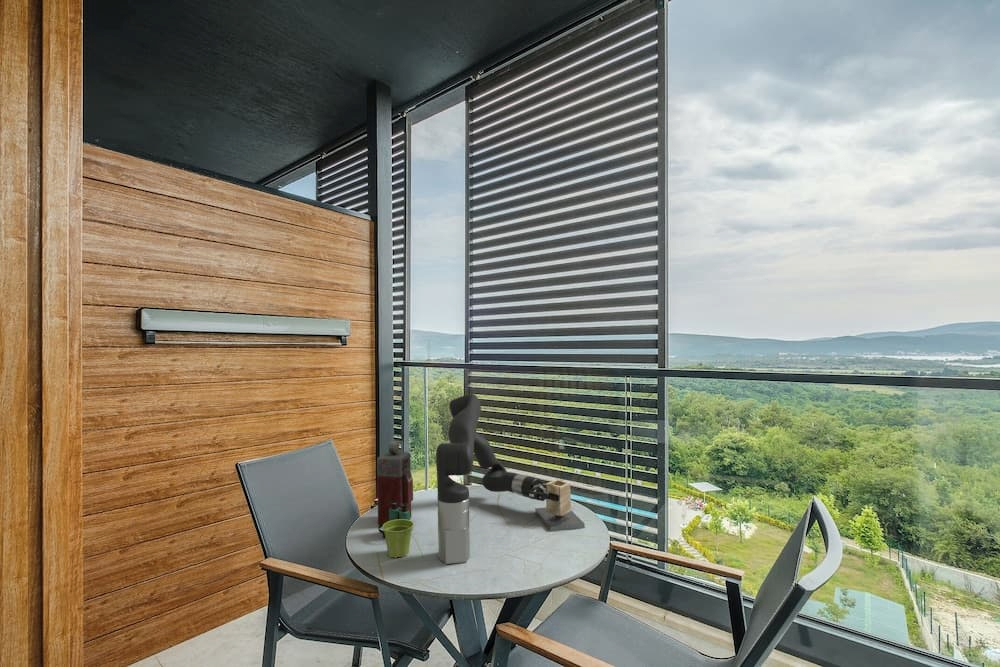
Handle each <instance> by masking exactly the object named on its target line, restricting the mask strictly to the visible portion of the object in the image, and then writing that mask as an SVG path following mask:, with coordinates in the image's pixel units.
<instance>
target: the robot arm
mask: <svg viewBox="0 0 1000 667" xmlns="http://www.w3.org/2000/svg"><path fill="white" fill-rule="evenodd" d="M448 407H449V410H450V411H449V412H450V414H451V416H452V419H451V421H450V423H449V427H448V431H447V435H448V439H449V441H450V443H449V442H447V443H446V442H445V443H443V442H442V443H439V444H438V446H437V447H436V452H435V464H436V465H435V467H436V479H437V481H436V482H437V533H438V534H437V536H438V537H437V538H438V539H437V542H438V543H437V544H438V546H437V547H438V550H437V552H438V560H439V561H441V562H443V563H444V564H445V565H450V564H460V563H467V562H468V560H469V559H470V556H471V547H470V546H471V543H470V542H471V541H470V540H471V539H470V538H471V536H470V530H471V529H470V492H469V491H470V490H469V488H468V486H466V485H465V484H463V483H459V482H457V481H455V480H453V479H452V478H451V477H450V476H466V475H467V476H468V475H469V474H470V473H471V472H472V470H473V468H474V461H475V460H474V459H476V461H477V463H478V465H479V467H480V468H481V469H489V471H487V472H486V473H485V474H484V475H483V476H482V478H481V482H482V483H481V484H482V485H483V487H484V489H485V490H487V491H489V492H493V493H498V492H500V493H502V492H508V493H513V494H516V495H517V496H522V497H524V498H527V499H531V500H536V501H541V502H545V501H546V500H553V501H556V502H558V501H559V495H557V494H553V493H549V492H546V483H543V481H542V480H541V479H540V478H539V477H534V476H531V475H526V474H520V473H519V474H518V473H516V472H507V470H506V468H505V466H504V465H503V464H502V463H501V462H500V461H499V460H498V458H497V456H496V454H495V453H494V450H493V448H492V445H491V443H490V442H489V441H488V440H487V439H486V438H485V437H483V436H482V435H481V434H479V433H478V432H477V428H478V423H479V419H480V416H481V414H482V406H481V401H480V399H479V398H478V396H477V395H476V394H474V393H467V394H464V395H461V396H459V397H457V398H454V399H451V400H450V401H449V406H448ZM474 456H475V458H474Z"/></svg>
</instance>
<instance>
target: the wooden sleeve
mask: <svg viewBox="0 0 1000 667" xmlns="http://www.w3.org/2000/svg"><path fill="white" fill-rule="evenodd" d="M545 484H546V492H549V493H553V494H557V495H559V501H558V502H556V501H553V500H546V499H545V501H546V502H545V504H546V506H545V507H546V511H547V512H548V513H551V514H555V515H558V516H562V515H564V514H566V513H569V512H571V511H572V509H571V508H572V507H571V501H572V500H571V483H570V482H569V481H564V480H558V479H555V480H552V481H549V482H546V483H545Z"/></svg>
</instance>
